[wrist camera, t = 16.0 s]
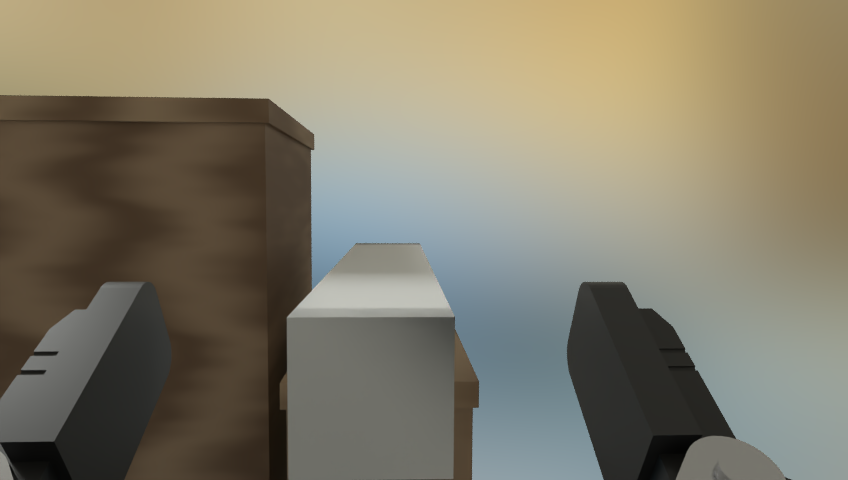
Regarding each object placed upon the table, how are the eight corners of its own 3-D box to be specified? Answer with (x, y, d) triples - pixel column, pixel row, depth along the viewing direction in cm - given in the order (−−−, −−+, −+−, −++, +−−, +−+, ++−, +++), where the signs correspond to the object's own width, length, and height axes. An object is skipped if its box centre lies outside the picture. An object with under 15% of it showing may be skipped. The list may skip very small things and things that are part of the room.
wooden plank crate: (-71, 925, 23) (-117, 75, 21) (134, 605, 42) (121, 132, 39) (472, 898, 24) (482, 83, 22) (439, 597, 43) (442, 135, 40)
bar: (288, 481, 15) (286, 317, 14) (356, 306, 39) (356, 243, 38) (453, 478, 15) (454, 317, 15) (419, 306, 39) (419, 243, 39)
